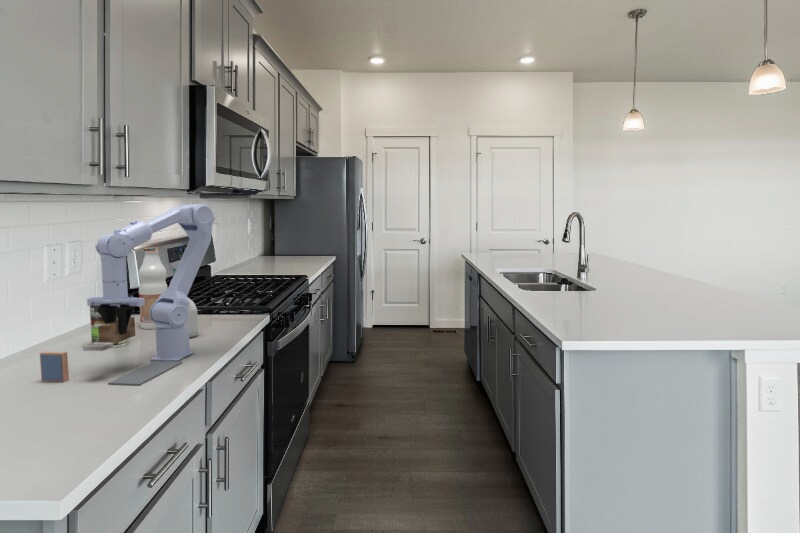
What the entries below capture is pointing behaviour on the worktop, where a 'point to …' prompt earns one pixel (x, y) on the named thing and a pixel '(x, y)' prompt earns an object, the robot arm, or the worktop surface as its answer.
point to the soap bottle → (191, 316)
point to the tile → (54, 366)
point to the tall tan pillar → (111, 336)
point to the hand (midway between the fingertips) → (117, 333)
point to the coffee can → (98, 321)
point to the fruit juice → (151, 284)
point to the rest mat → (145, 373)
